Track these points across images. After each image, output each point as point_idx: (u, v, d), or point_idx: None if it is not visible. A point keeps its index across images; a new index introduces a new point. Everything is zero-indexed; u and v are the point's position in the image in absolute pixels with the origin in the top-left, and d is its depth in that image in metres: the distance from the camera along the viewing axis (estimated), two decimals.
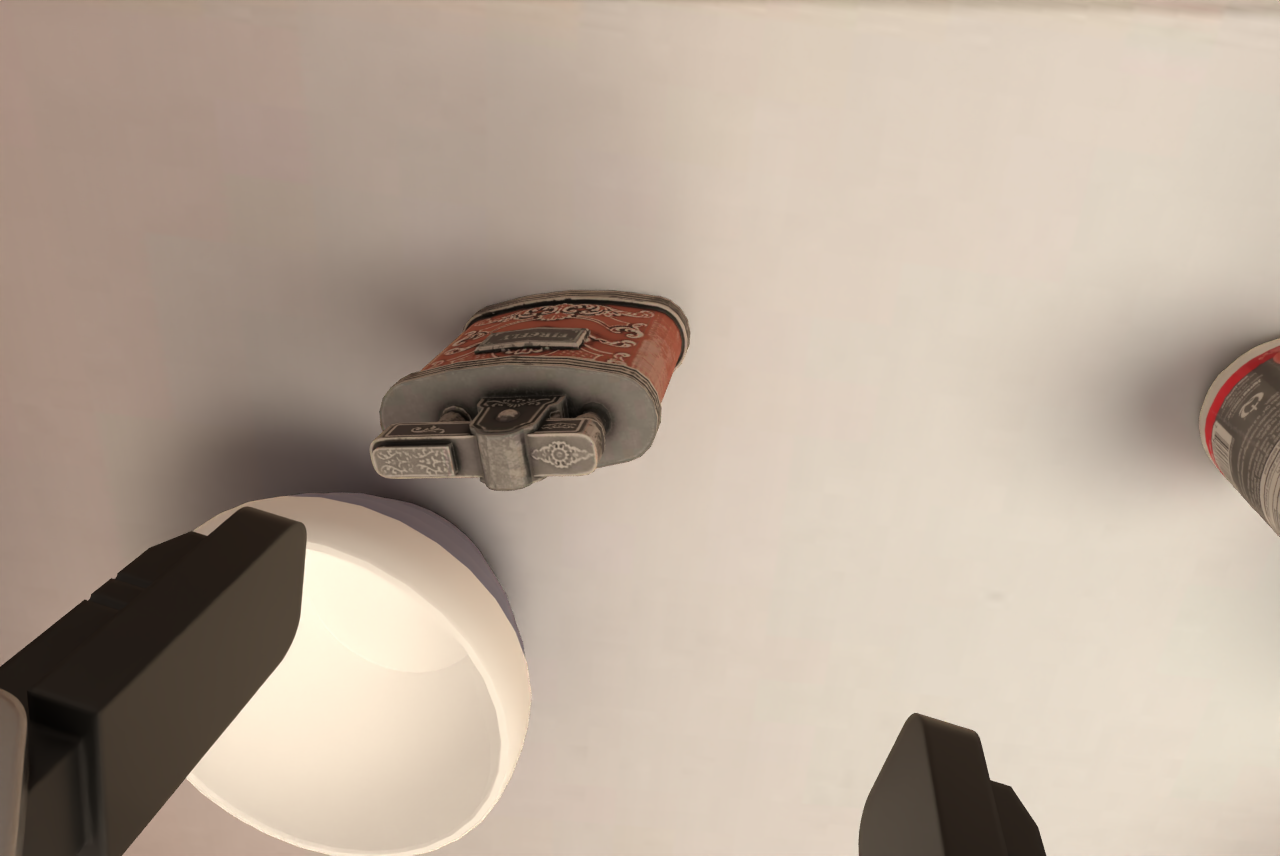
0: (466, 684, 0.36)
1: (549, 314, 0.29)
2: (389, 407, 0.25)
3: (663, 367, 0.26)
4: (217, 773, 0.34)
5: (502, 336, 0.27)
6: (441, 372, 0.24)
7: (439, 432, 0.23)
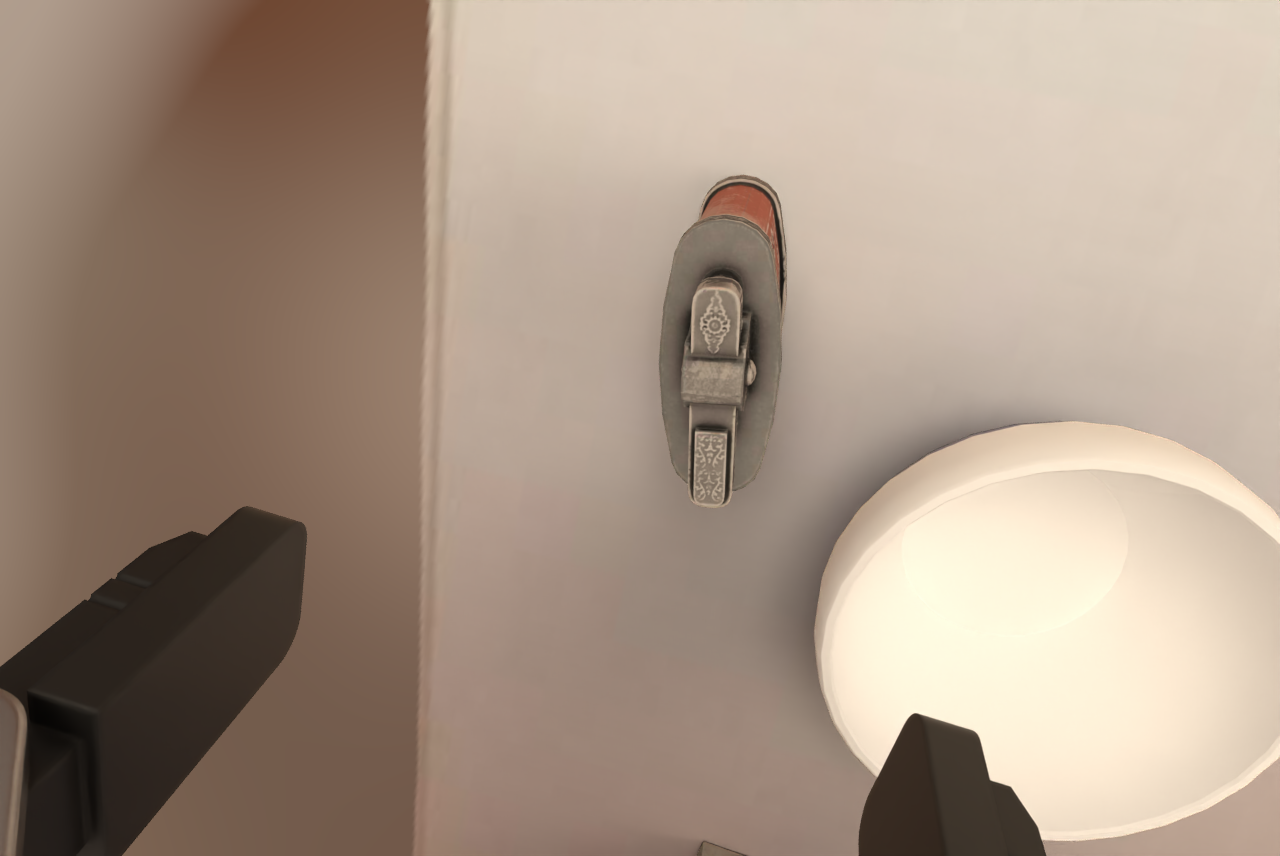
0: (1141, 502, 0.30)
1: None
2: None
3: (720, 206, 0.26)
4: (1149, 801, 0.29)
5: None
6: (664, 422, 0.26)
7: (689, 437, 0.24)
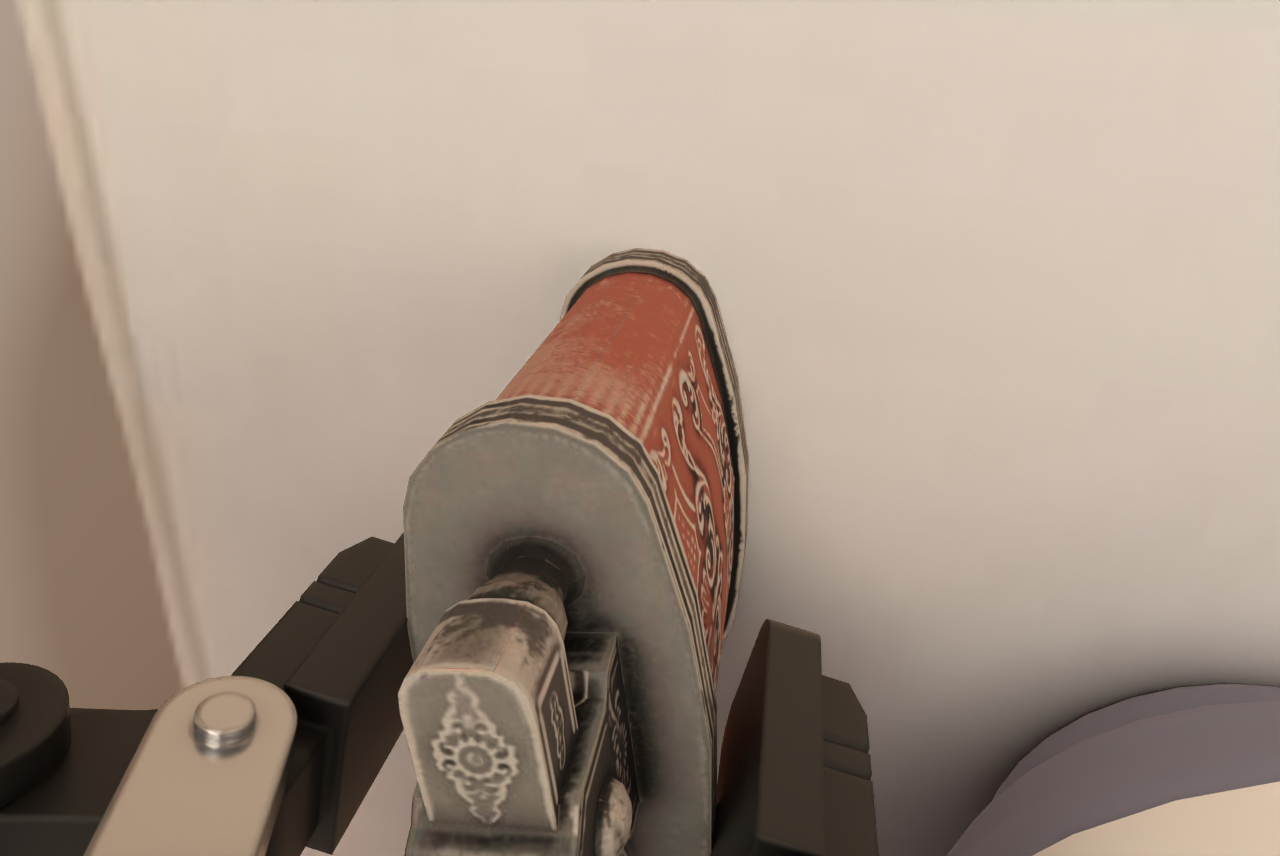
0: None
1: None
2: None
3: (551, 348, 0.11)
4: None
5: None
6: None
7: None
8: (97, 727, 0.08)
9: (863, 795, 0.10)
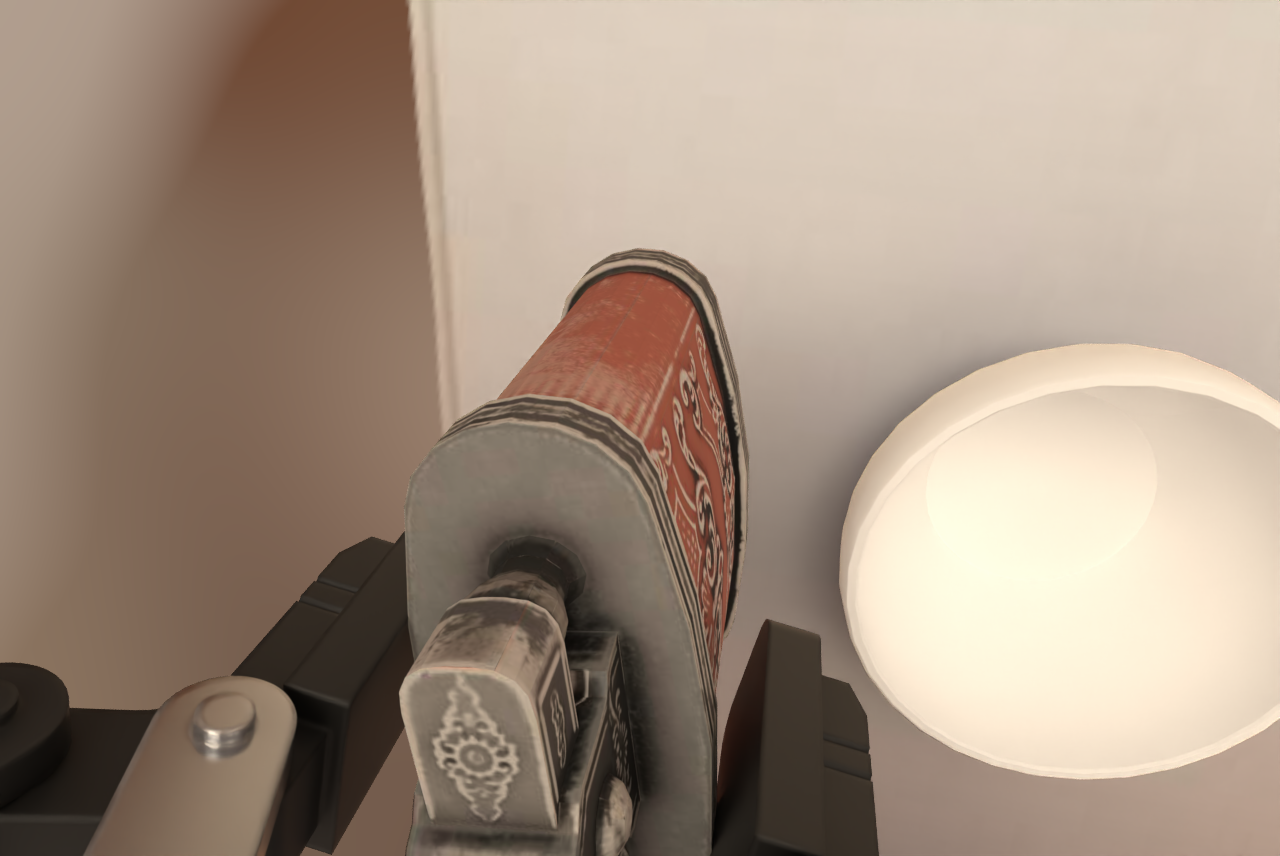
0: (1164, 427, 0.29)
1: None
2: None
3: (552, 347, 0.11)
4: (1202, 730, 0.28)
5: None
6: None
7: None
8: (98, 727, 0.08)
9: (863, 795, 0.10)
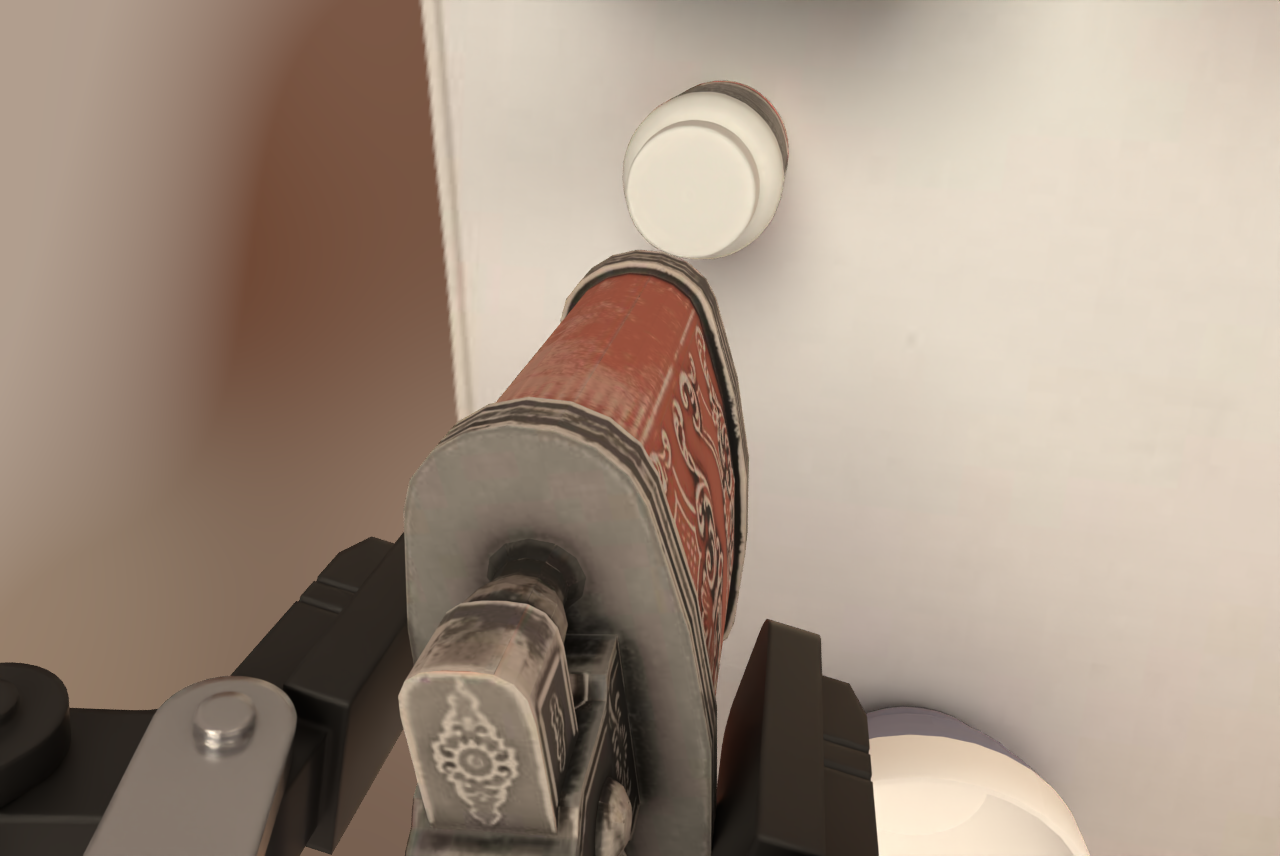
0: None
1: None
2: None
3: (552, 349, 0.11)
4: None
5: None
6: None
7: None
8: (97, 727, 0.08)
9: (863, 795, 0.10)
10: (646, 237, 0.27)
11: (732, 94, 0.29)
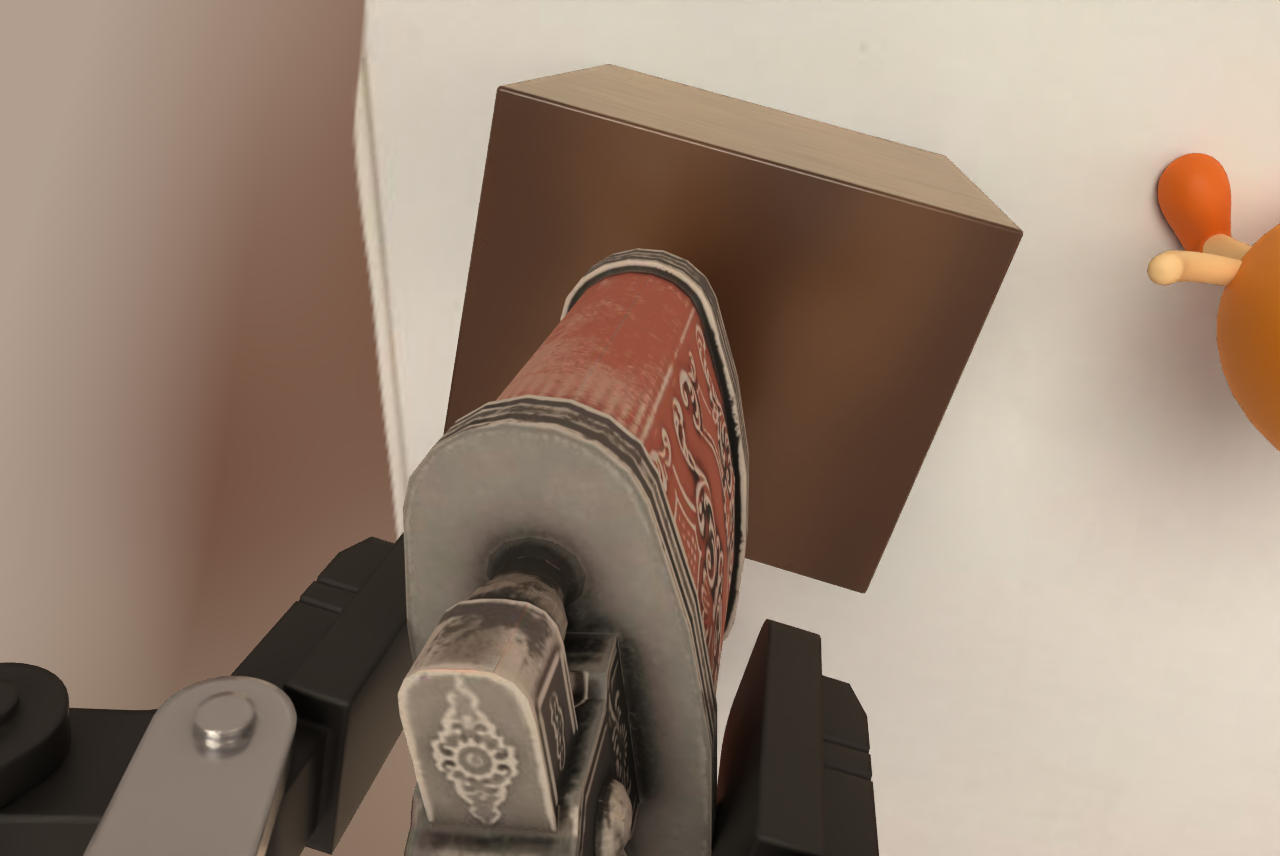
0: None
1: None
2: None
3: (552, 348, 0.11)
4: None
5: None
6: None
7: None
8: (97, 727, 0.08)
9: (863, 795, 0.10)
10: None
11: None
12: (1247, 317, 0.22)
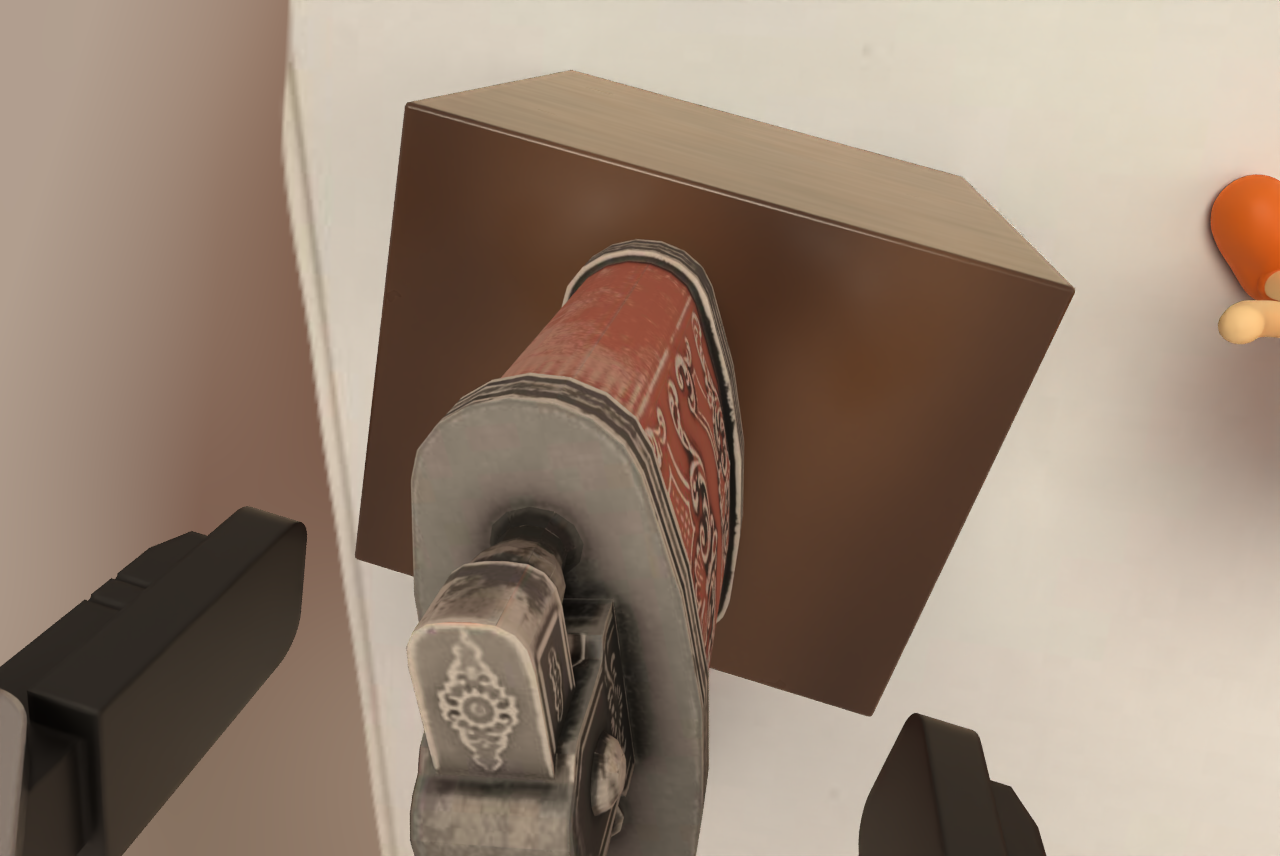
0: None
1: None
2: None
3: (552, 331, 0.12)
4: None
5: None
6: None
7: None
8: None
9: None
10: None
11: None
12: None
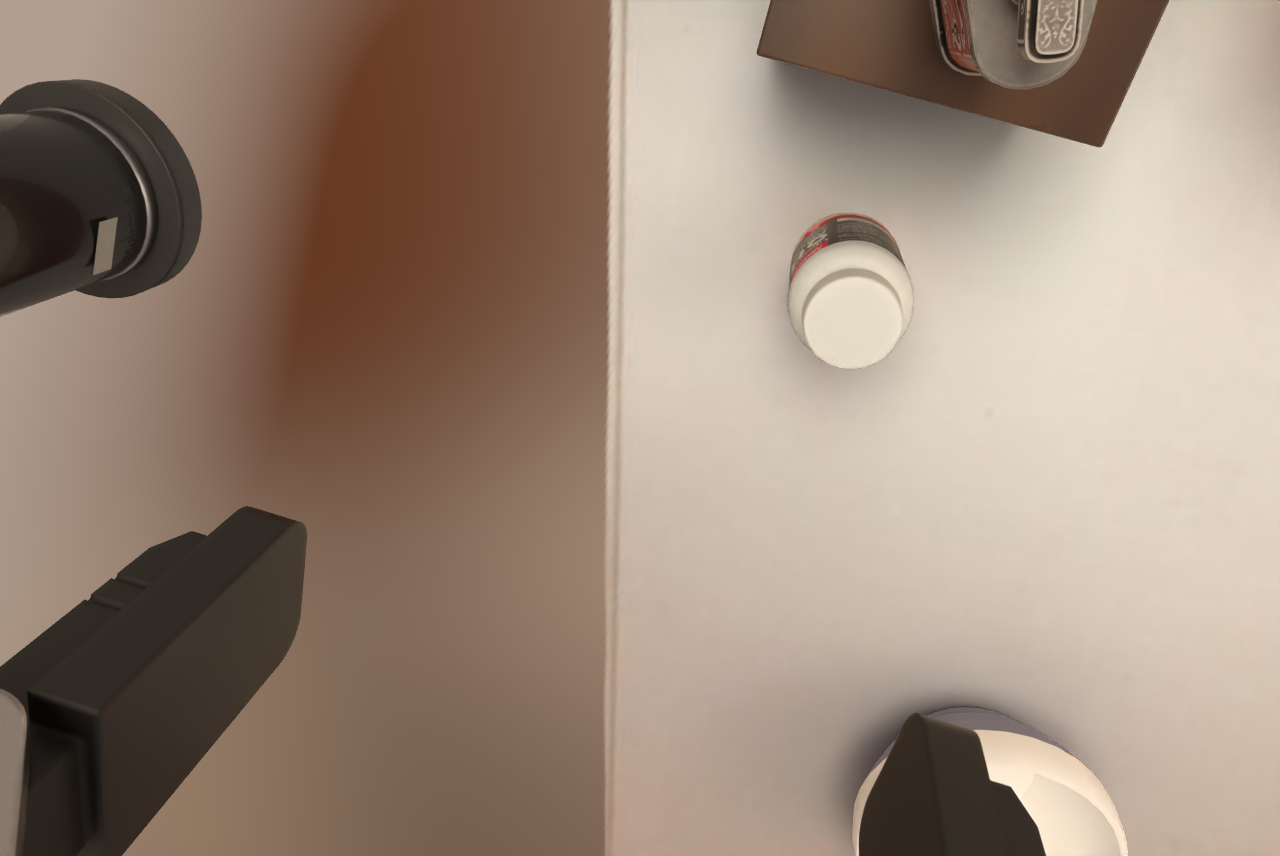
0: None
1: None
2: (1005, 74, 0.23)
3: None
4: None
5: None
6: (967, 3, 0.22)
7: None
8: None
9: None
10: (816, 353, 0.36)
11: (875, 240, 0.38)
12: None
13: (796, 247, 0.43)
